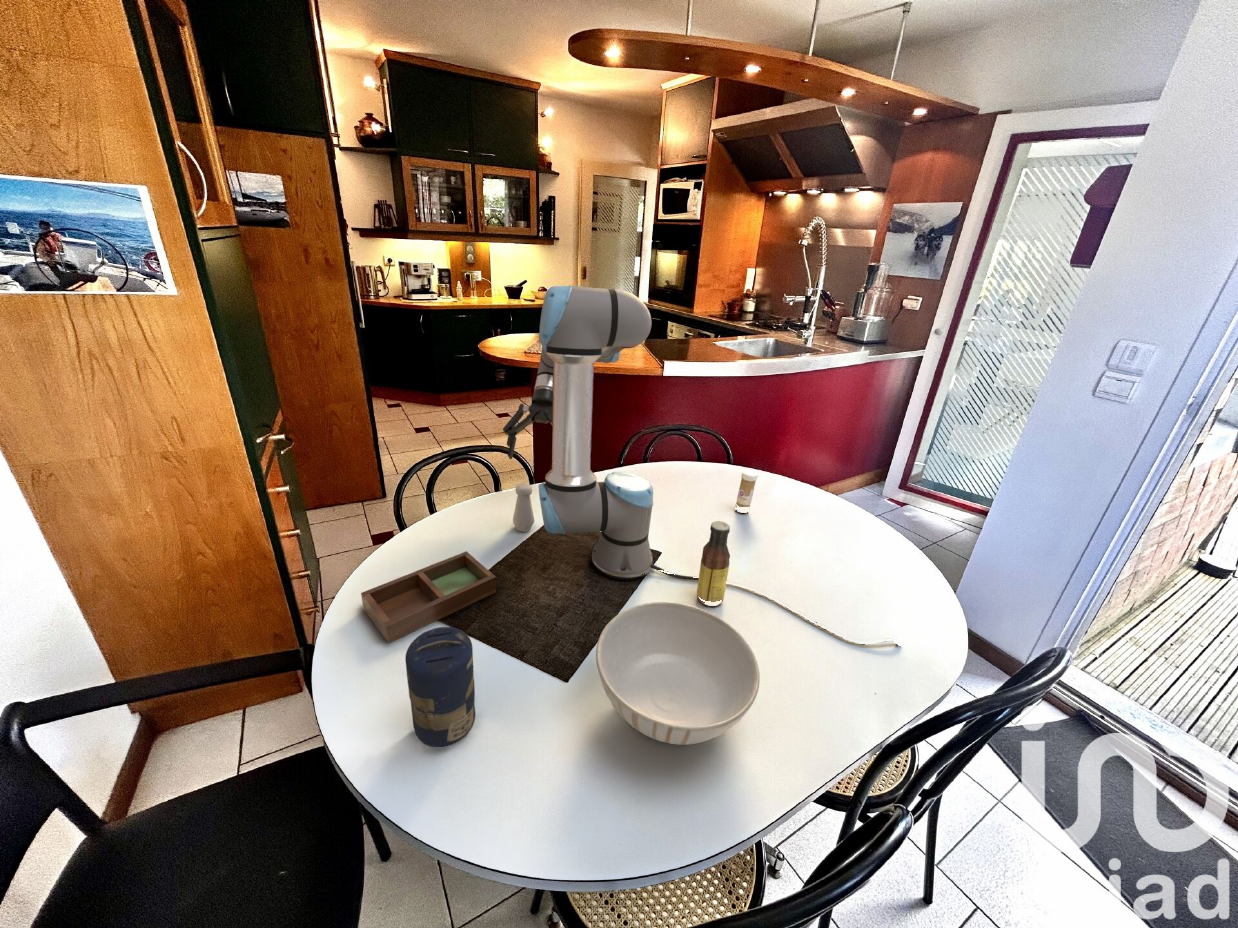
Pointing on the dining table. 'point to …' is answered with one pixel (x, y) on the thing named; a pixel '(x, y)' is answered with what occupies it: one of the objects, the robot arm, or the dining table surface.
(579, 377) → the robot arm
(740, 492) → the sprinkles bottle
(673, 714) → the decorative bowl
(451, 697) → the canister
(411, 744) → the dining table surface
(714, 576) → the sauce bottle
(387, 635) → the wooden compartment tray
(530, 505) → the salt shaker
